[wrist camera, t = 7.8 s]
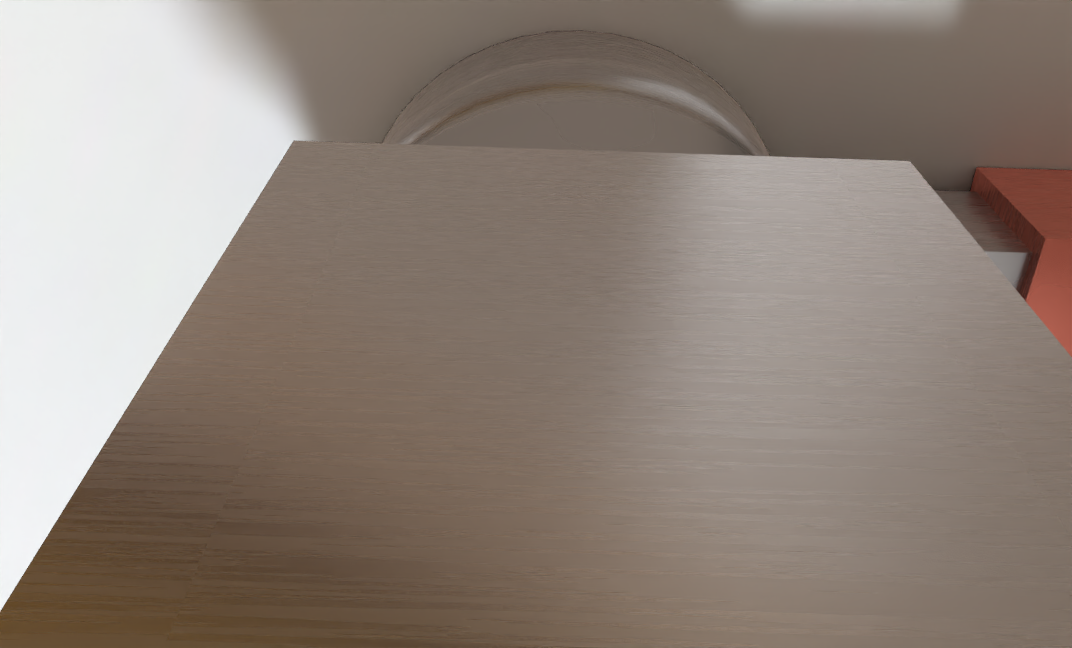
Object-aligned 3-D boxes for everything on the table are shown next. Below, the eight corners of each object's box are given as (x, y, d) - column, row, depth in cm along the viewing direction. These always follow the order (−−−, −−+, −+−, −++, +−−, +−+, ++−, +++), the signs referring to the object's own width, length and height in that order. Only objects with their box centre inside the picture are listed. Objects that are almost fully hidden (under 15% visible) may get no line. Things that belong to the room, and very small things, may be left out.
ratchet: (1356, 55, 14) (2150, 380, 7) (1189, 429, 17) (1617, 901, 10) (349, 22, 14) (147, 316, 7) (374, 403, 17) (253, 860, 10)
